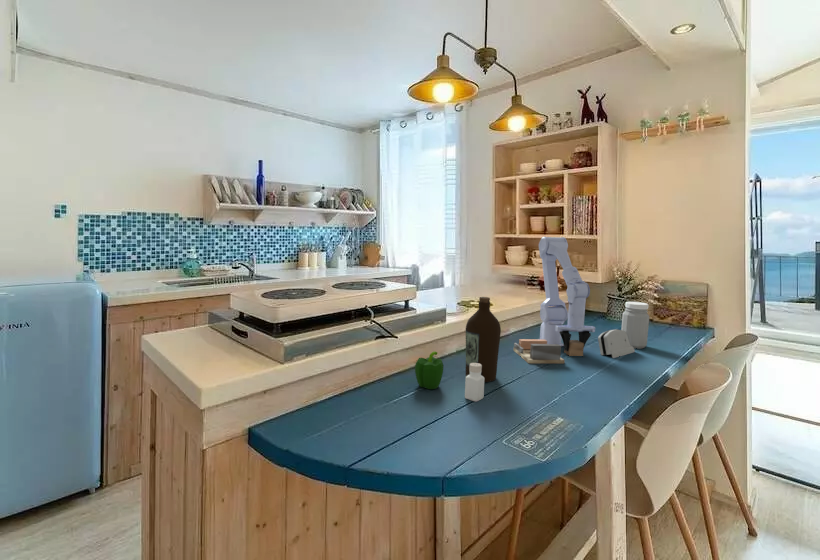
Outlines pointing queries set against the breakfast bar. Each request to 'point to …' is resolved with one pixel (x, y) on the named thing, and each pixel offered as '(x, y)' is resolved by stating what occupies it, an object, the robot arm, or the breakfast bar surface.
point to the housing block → (575, 348)
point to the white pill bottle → (474, 383)
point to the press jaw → (530, 342)
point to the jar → (636, 323)
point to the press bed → (526, 357)
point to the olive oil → (483, 340)
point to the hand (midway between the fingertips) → (573, 350)
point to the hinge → (615, 343)
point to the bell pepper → (429, 371)
